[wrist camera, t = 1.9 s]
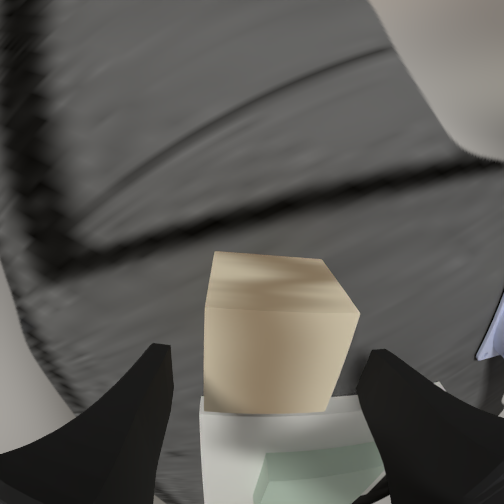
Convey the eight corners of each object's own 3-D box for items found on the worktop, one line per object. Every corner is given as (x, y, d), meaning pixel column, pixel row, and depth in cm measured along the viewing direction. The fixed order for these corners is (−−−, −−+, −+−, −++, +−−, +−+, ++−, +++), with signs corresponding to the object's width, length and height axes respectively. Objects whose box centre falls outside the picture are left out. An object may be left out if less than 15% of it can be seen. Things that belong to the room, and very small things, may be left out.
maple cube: (321, 258, 14) (360, 313, 9) (302, 343, 15) (324, 411, 11) (214, 250, 13) (205, 306, 9) (210, 339, 15) (203, 411, 10)
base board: (439, 381, 18) (462, 414, 14) (363, 484, 24) (371, 510, 20) (201, 396, 16) (196, 447, 13) (205, 496, 22) (204, 526, 19)
